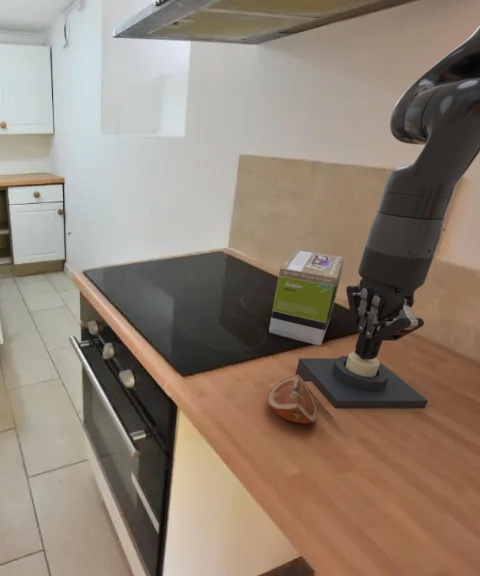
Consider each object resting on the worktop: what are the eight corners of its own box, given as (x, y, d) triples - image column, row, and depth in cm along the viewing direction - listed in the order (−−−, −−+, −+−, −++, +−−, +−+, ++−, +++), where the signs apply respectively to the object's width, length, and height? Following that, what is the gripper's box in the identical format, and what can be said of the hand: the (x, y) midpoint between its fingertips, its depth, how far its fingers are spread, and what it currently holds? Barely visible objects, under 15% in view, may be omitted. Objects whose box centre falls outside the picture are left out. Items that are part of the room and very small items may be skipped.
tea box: (282, 308, 90) (294, 248, 84) (330, 319, 85) (347, 256, 79) (266, 333, 79) (279, 266, 73) (321, 348, 73) (340, 276, 68)
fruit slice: (315, 443, 51) (323, 413, 49) (261, 426, 54) (267, 398, 52) (315, 406, 58) (322, 379, 56) (267, 393, 61) (273, 367, 59)
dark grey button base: (370, 373, 66) (378, 349, 64) (420, 418, 55) (432, 390, 54) (295, 374, 66) (301, 349, 64) (332, 418, 55) (340, 390, 54)
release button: (364, 362, 61) (368, 351, 60) (382, 377, 57) (386, 366, 56) (339, 362, 61) (343, 351, 60) (355, 377, 57) (359, 366, 56)
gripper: (472, 262, 45) (423, 383, 52) (391, 234, 57) (360, 335, 64) (409, 262, 45) (368, 383, 52) (342, 234, 57) (316, 335, 64)
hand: (364, 356), depth 58 cm, fingers closed
